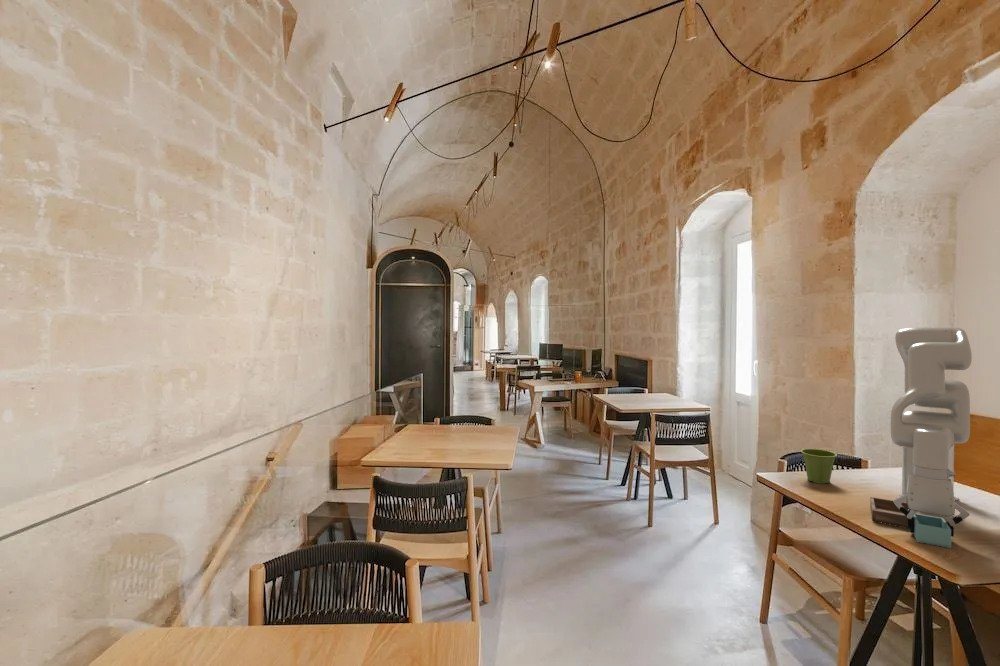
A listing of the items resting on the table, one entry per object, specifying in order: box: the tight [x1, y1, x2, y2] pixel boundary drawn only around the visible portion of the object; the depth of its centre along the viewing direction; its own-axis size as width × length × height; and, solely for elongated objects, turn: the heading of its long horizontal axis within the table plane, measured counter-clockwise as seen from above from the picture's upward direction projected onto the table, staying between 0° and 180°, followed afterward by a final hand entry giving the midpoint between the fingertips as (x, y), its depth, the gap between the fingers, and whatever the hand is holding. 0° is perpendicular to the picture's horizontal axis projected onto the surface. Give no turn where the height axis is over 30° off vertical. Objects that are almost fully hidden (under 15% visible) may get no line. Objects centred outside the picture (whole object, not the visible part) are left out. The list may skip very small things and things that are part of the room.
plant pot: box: [800, 448, 838, 485], centre depth 188 cm, size 12×12×11 cm
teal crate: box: [912, 513, 952, 549], centre depth 136 cm, size 10×7×5 cm
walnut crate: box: [869, 496, 921, 529], centre depth 151 cm, size 15×12×4 cm
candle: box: [948, 444, 959, 501], centre depth 170 cm, size 7×7×25 cm
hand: (929, 534), depth 137 cm, fingers closed on teal crate, 7 cm apart
